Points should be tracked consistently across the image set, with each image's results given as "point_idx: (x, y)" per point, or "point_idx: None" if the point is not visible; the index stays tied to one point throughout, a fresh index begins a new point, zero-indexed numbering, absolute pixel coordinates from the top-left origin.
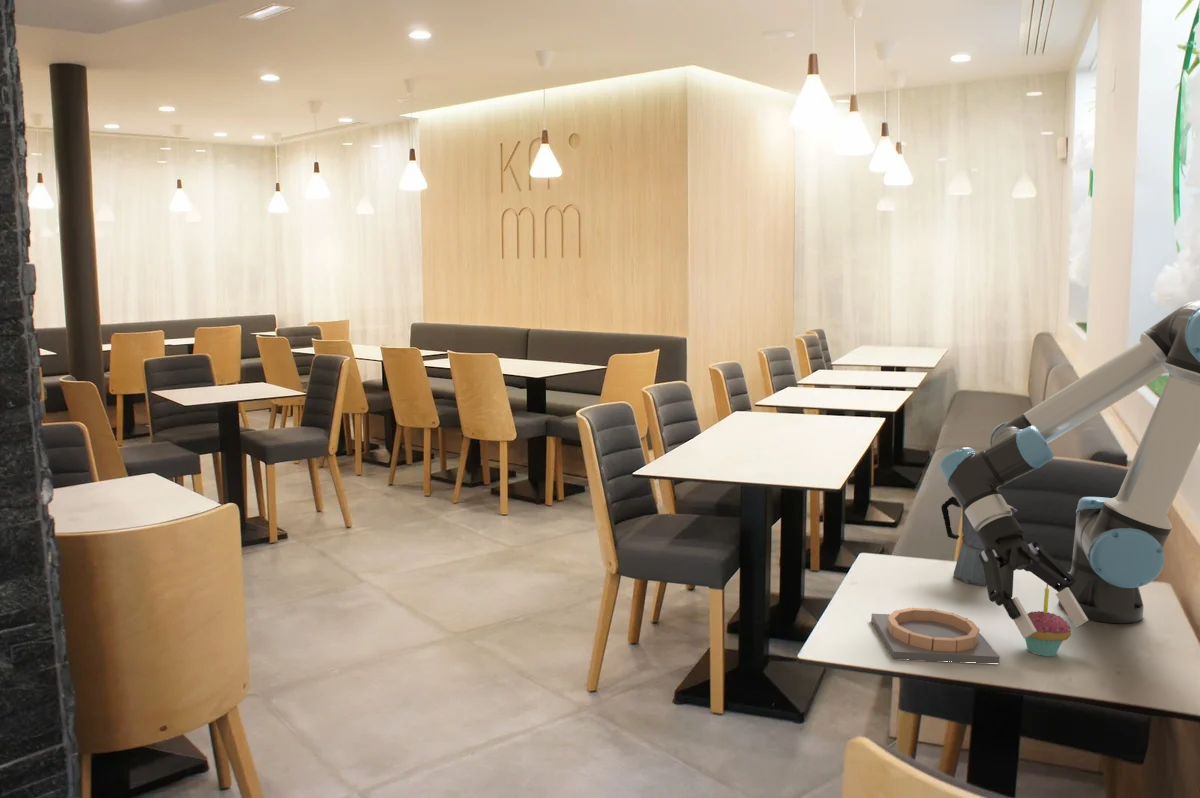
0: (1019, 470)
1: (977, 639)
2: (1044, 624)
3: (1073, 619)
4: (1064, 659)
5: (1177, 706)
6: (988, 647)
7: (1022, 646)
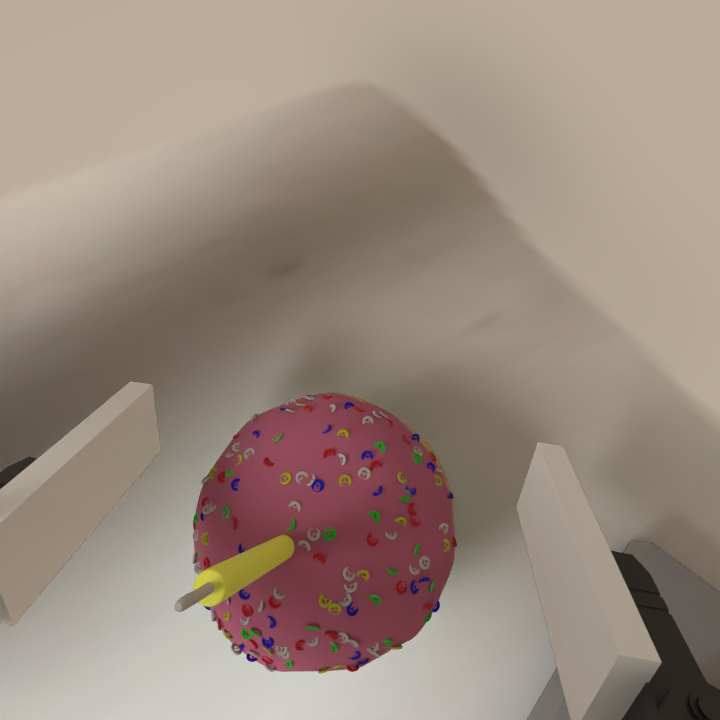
0: None
1: None
2: (413, 471)
3: (140, 459)
4: None
5: (375, 94)
6: None
7: None
